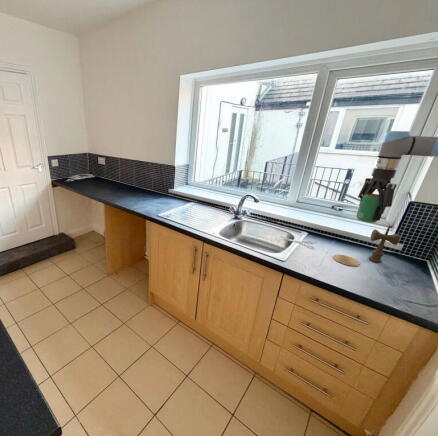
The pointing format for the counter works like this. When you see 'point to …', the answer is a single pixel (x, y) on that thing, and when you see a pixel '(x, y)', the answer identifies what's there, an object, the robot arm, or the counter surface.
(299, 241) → the scissors
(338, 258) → the cork coaster
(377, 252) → the kendama
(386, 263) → the counter surface
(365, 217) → the beverage can
